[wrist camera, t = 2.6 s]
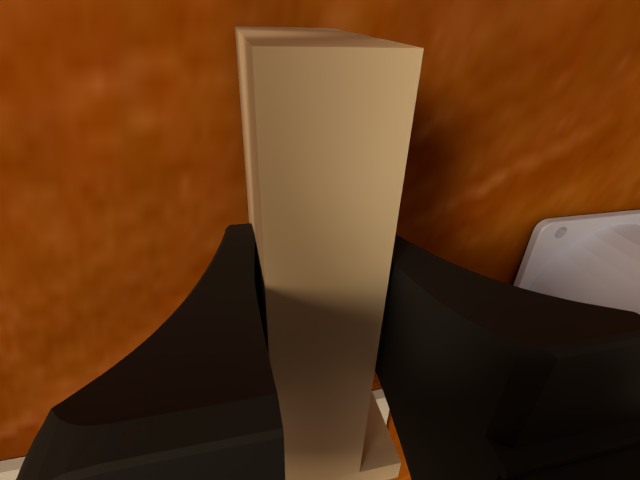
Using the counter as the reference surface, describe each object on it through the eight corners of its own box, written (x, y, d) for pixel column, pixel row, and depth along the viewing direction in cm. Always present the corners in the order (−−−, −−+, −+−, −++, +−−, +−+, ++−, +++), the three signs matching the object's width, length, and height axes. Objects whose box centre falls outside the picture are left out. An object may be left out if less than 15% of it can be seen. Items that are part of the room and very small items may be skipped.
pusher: (382, 29, 10) (504, 49, 6) (349, 353, 16) (397, 476, 12) (176, 24, 9) (143, 45, 5) (226, 373, 15) (230, 516, 11)
